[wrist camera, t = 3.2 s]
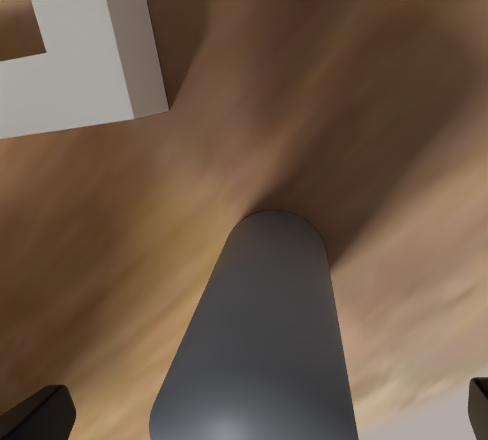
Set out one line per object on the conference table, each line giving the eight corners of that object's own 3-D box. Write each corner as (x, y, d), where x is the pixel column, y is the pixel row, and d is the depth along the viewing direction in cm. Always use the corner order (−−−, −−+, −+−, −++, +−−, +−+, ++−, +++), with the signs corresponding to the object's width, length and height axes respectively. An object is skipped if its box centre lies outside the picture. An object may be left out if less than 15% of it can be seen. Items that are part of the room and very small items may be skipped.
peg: (330, 300, 15) (363, 521, 7) (232, 305, 15) (172, 511, 8) (323, 204, 13) (353, 357, 6) (216, 215, 14) (126, 362, 7)
